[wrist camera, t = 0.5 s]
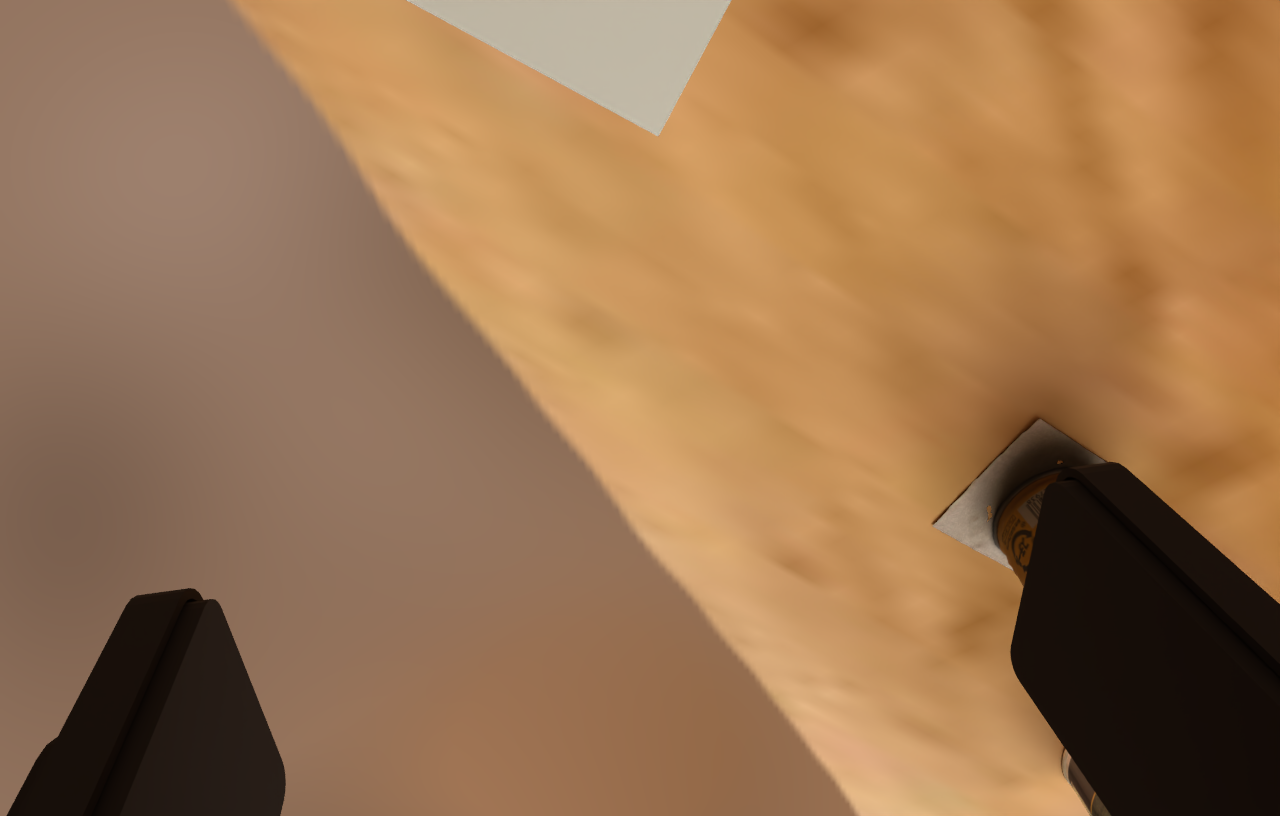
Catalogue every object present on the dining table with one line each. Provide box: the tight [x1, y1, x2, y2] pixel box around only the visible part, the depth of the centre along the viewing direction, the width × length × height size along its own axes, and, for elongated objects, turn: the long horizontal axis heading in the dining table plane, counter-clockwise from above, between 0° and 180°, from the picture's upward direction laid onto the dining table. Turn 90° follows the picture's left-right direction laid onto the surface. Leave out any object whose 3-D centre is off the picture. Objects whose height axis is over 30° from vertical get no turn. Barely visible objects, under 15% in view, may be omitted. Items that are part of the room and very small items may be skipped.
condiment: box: [933, 419, 1107, 586], centre depth 39 cm, size 7×8×12 cm
